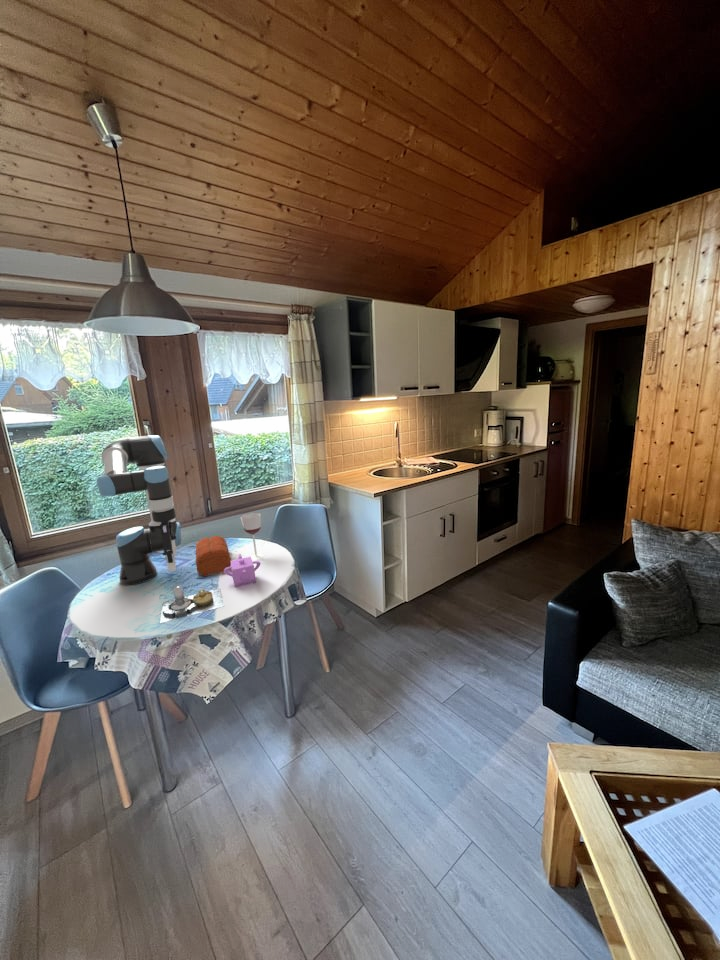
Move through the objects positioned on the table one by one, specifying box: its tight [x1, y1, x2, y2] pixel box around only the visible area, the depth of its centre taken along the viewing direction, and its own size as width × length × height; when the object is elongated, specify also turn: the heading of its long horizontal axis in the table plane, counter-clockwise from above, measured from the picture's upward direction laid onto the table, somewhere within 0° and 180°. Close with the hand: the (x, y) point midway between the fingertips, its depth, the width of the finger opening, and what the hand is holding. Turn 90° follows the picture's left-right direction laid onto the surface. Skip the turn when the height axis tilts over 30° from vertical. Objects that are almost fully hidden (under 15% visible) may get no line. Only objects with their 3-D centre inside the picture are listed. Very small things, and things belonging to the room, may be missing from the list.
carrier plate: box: [159, 588, 225, 624], centre depth 150 cm, size 16×22×3 cm
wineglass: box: [240, 512, 266, 562], centre depth 192 cm, size 9×10×22 cm
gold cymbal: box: [193, 589, 213, 606], centre depth 151 cm, size 7×7×4 cm
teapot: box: [223, 553, 261, 588], centre depth 167 cm, size 15×13×11 cm
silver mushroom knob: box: [171, 584, 191, 611], centre depth 148 cm, size 7×7×8 cm
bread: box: [195, 535, 232, 577], centre depth 190 cm, size 16×27×11 cm, turn 23°
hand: (173, 562), depth 145 cm, fingers open, 13 cm apart
